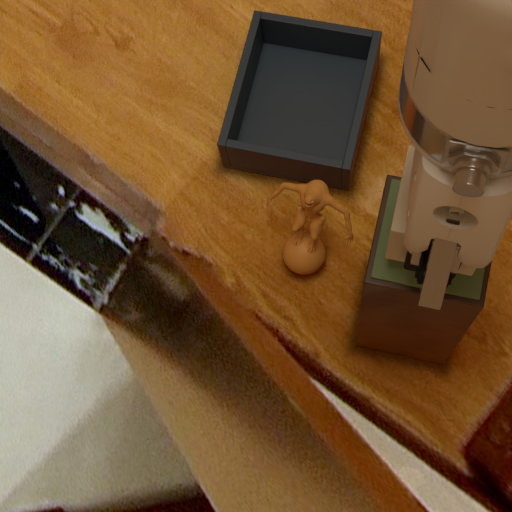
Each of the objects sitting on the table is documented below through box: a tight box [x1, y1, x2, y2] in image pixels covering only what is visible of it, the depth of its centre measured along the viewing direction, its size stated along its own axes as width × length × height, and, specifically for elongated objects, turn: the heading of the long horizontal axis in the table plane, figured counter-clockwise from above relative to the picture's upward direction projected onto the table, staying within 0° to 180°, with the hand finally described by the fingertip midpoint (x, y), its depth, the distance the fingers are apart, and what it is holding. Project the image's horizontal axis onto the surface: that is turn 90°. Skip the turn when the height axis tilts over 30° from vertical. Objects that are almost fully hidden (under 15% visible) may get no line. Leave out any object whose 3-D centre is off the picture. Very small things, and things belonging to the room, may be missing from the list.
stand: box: [355, 174, 493, 366], centre depth 68 cm, size 8×8×22 cm
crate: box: [216, 9, 383, 192], centre depth 83 cm, size 13×15×5 cm
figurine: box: [266, 180, 354, 276], centre depth 76 cm, size 8×6×12 cm
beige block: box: [385, 144, 476, 276], centre depth 53 cm, size 6×6×6 cm
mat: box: [371, 179, 485, 300], centre depth 58 cm, size 7×7×1 cm
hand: (438, 222), depth 55 cm, fingers closed on beige block, 5 cm apart
